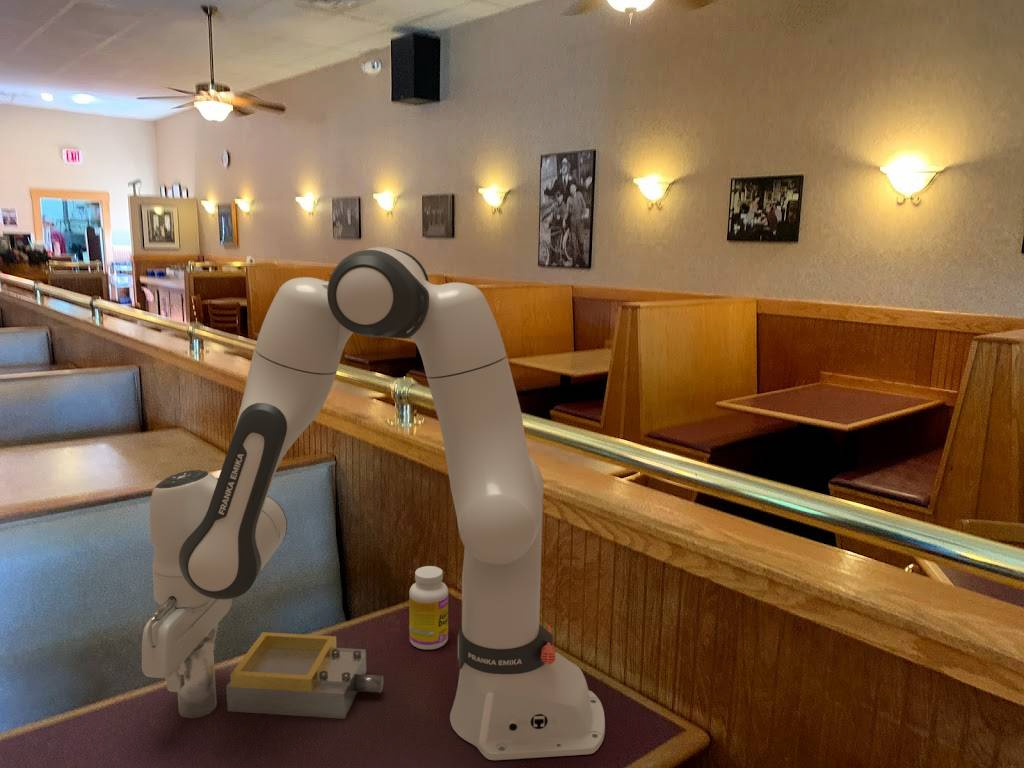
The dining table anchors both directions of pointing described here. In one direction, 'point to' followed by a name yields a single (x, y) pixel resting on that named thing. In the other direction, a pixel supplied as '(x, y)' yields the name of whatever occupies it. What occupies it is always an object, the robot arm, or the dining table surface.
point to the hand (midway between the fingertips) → (192, 670)
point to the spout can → (198, 682)
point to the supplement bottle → (428, 609)
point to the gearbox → (299, 677)
